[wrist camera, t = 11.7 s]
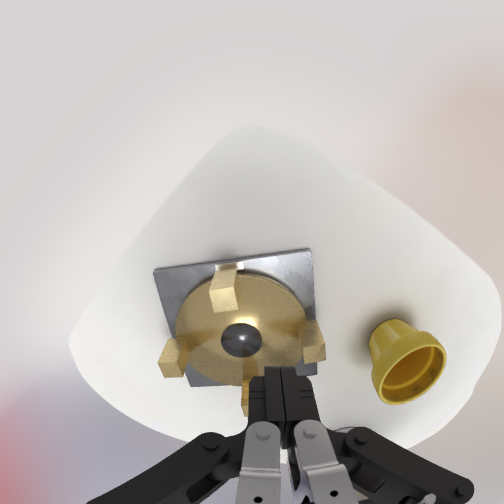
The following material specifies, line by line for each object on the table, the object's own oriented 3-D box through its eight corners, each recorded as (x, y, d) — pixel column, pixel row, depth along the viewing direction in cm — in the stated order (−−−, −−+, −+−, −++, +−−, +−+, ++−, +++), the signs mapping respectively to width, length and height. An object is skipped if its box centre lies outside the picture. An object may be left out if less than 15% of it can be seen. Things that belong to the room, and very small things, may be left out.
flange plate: (316, 370, 38) (317, 375, 37) (191, 382, 39) (190, 388, 38) (309, 248, 33) (311, 251, 32) (155, 269, 34) (151, 273, 32)
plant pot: (345, 333, 37) (367, 379, 27) (405, 293, 35) (440, 328, 25) (369, 373, 39) (390, 415, 30) (422, 338, 37) (451, 374, 28)
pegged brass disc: (308, 252, 32) (320, 273, 25) (317, 373, 37) (326, 405, 31) (152, 276, 33) (132, 300, 26) (192, 388, 38) (185, 419, 32)
